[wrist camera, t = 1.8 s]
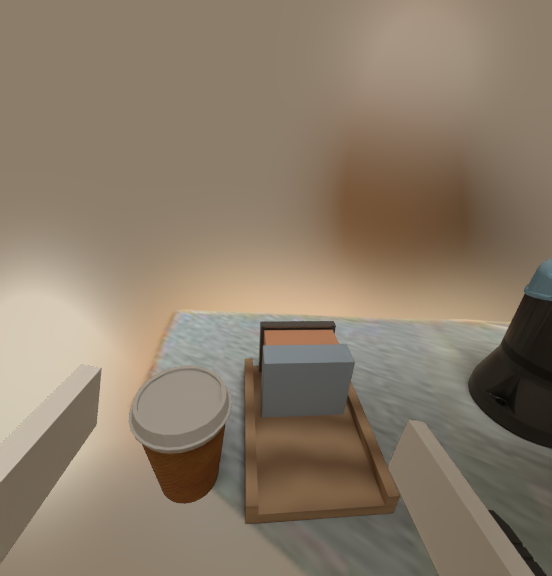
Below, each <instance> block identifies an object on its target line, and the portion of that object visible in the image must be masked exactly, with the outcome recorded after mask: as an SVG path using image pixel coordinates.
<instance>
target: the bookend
mask: <svg viewBox="0 0 552 576" xmlns="http://www.w3.org/2000/svg"><path fill="white" fill-rule="evenodd" d="M335 327H336V325H335V323H334V321H293V322H260V348H259V372H262V356H263V345H264V330H333V332H334V333H335Z"/></svg>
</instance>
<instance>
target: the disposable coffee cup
mask: <svg viewBox="0 0 552 576" xmlns="http://www.w3.org/2000/svg"><path fill="white" fill-rule="evenodd" d="M231 406H232V399H231V395H230V392H229V390H228V388H227V387H226V385H225V384H224V382H223V380H222V379H221V378H220V376H218V375H217V374H216V373H215V372H213V371H211V370H209V369H206V368H203V367H198V366H180V367H175V368H171V369H168V370H165V371H163V372H160V373H158V374H157V375H155V376H153V377H152V378H150V379H149V380H148V381H147V382H145V383H144V384H143V386H142V387H141V388H140V389H139V391H138V392H137V394H136V396H135V398H134V401H133V404H132V406H131V409H130V413H129V425H130V429H131V431H132V433H133V435H134V436H135V438H136V439H137V440H138V441H139V442H140V443H142V445H143V447H144V450H145V452H146V454H147V456H148V459H149V461H150V463H151V465H152V468H153V471H154V472H155V475H156V477H157V479H158V481H159V484H160V486H161V488H162V491H163V493H164V495H165V496H166V497H167V498H168V499H170V500H171V501H173V502H176V503H191V502H194V501H197V500H199V499H201V498H202V497H204V496H205V495H206V494H207V493H208V492H209V491H210V490H211V489H212V488H213V486H214V484H215V482H216V480H217V476H218V470H219V463H220V456H221V450H222V443H223V436H224V429H225V423H226V421H227V419H228V417H229V415H230V411H231Z"/></svg>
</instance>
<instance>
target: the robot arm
mask: <svg viewBox="0 0 552 576" xmlns="http://www.w3.org/2000/svg"><path fill="white" fill-rule="evenodd" d="M524 292H525V294H524V297H523V299H522V301H521V303H520V305H519V307H518V309H517V311H516V313H515V315H514V317H513V319H512V321H511V323H510V325H509V327H508V330H507V332H506V334H505V336H504V338H503V340H502V342H501V344H500V346H499V347H497V348H496V349H495V350H494V351H493V352H492V353H491V354H490V355H488V356H487V357H486V358H485V359H484V360H483V361H482V362H481V363H479V364H478V365H477V366H476V368H475V369H474V371H473V373H472V375H471V377H470V380H469V389H470V392H471V395H472V396H473V398H474V400H475V401H476V403H477V404H478V405H479V406H480V407H481V408H482V409H483V410H484V411H485V412H486V413H487V414H488V415H489V416H490V417H491V418H492V419H494V420H495V421H496V422H498V423H499V424H501V425H502V426H504V427H505V428H507V429H508V430H510V431H512V432H514V433H515V434H517V435H519V436H521V437H523V438H526V439H528V440H530V441H533V442H535V443H538V444H541V445H545V446H548V447H552V258H551V259H549V260H546V261H545V262H543V263H542V264H541V265H540V266H539V267H538V268H537V270H536V272H535V274H534V275H533V277H532V279H531V281H530V283H529V284H528V285H527V286H526V287H525V289H524ZM100 377H101V368H99V367H93V366H87V365H80V366H79V367H78V368H77V369H76V370H75V371H74V372H73V373H72V374H71V375H70V376H69V377H68V378H67V379H66V380H65V381H64V382H63V383H62V384H61V385H60V386H59V387H58V388H57V389H56V390H55V391H54V392H53V393H52V394H51V395H50V396H49V397H48V398H47V399H46V400H44V402H42V403H41V404H40V405H39V406H38V407H37V408H36V410H34V411H33V412H32V413H31V414H30V415H29V416H28V417H27V418H26V419H25V420H24V421H23V422H22V423H21V424H20V425H19V426H18V427H17V428H16V429H15V430H14V431H13V432H12V433H11V434H10V435H9V436H8V437H7V438H6V439H5V440H4V441H3V442H2V443H1V444H0V564H1V562H2V561H3V560H4V558H5V557H6V555H7V554H8V552H9V551H10V549H11V548H12V546H13V545H14V544H15V542H16V541H17V539H18V538H19V536H20V535H21V533H22V532H23V531H24V529H25V528H26V526H27V525H28V523H29V522H30V520H31V519H32V517H33V516H34V515H35V513H36V512H37V510H38V509H39V507H40V506H41V504H42V503H43V501H44V500H45V499H46V497H47V496H48V494H49V493H50V491H51V490H52V488H53V487H54V486H55V484H56V483H57V481H58V480H59V478H60V477H61V475H62V474H63V473H64V471H65V470H66V468H67V467H68V465H69V464H70V462H71V460H73V458H74V456H75V455H76V454H77V452H78V451H79V449H80V448H81V446H82V445H83V444H84V442H85V441H86V439H87V438H88V436H89V435H90V433H91V432H92V431H93V429H94V428H95V426H96V424H97V413H98V402H99V391H100V379H101V378H100ZM388 469H389V471H390V473H391V475H392V477H393V479H394V481H395V484H396V486H397V488H398V490H399V492H400V494H401V496H402V498H403V500H404V503H405V505H406V507H407V509H408V511H409V513H410V515H411V517H412V520H413V522H414V524H415V526H416V528H417V530H418V532H419V534H420V537H421V539H422V541H423V543H424V545H425V547H426V549H427V551H428V554H429V556H430V558H431V560H432V562H433V564H434V566H435V568H436V570H437V573H438V575H439V576H546V574H545V573H544V572H543V570H542V569H541V568H540V566H539V565H538V564H537V562H534V560H533V557H532V556H531V554H530V553H529V552H528V550H527V549H526V548H525V547H523V546H522V542H521V541H520V540H519V538H518V537H517V536H516V534H515V533H514V532H513V530H512V529H511V528H510V526H509V525H508V524H506V523H505V522H504V521H503V520H502V519H501V518H500V517H499V516H498V515H497V514H496V513H495V512H494V511H492V510H487V508H486V507H485V506H484V504H483V503H482V502H481V500H480V499H479V497H478V496H477V495H476V493H475V492H474V490H473V489H472V488H471V486H470V485H469V483H468V482H467V481H466V479H465V478H464V477H463V475H462V474H461V472H460V471H459V470H458V468H457V467H456V465H455V464H454V463H453V461H452V460H451V459H450V457H449V456H448V454H447V453H446V452H445V450H444V449H443V447H442V446H441V445H440V443H439V442H438V441H437V439H436V438H435V436H434V435H433V434H432V432H431V431H430V429H429V428H428V427H427V425H426V424H425V423H424V422H421V421H415V420H409V419H408V422H407V424H406V426H405V429H404V431H403V433H402V436H401V438H400V440H399V443H398V445H397V447H396V450H395V452H394V454H393V457H392V459H391V461H390V464H389V466H388Z"/></svg>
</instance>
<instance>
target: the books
mask: <svg viewBox="0 0 552 576" xmlns="http://www.w3.org/2000/svg"><path fill="white" fill-rule="evenodd" d="M354 364H355V361H354V359H353V357H352V355H351V353H350V351H349V349H348V346H347V344H339V343H338V341H337V339H336V337H335V334H334V332H333V330H264V345H263V356H262V379H261V409H262V418H263V417H290V416H316V415H342V414H344V411H345V406H346V401H347V397H348V392H349V387H350V383H351V378H352V373H353V369H354Z"/></svg>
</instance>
